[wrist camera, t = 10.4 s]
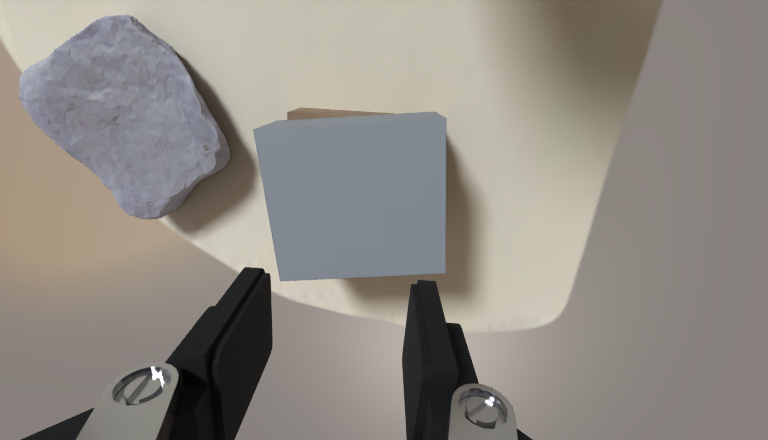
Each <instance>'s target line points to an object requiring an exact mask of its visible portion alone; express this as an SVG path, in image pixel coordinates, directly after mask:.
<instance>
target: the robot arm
mask: <svg viewBox="0 0 768 440" xmlns="http://www.w3.org/2000/svg"><path fill="white" fill-rule="evenodd" d="M271 350H272V311H271V278H270V274H269V273H265V271H264V269H263V268H250V267H245V268H244V269H243V270H242V271H241V273H240V274H239V275H238V277H237V278H236V279H235V281H234V282H233V283H232V285H231V286H230V287H229V289H228V290H227V291H226V292H225V294H224V295H223V297H222V298H221V299H220V300H219V302H218V303H217V304H216V306H211V307H209V308H208V309H207V310H206V311H205V312H204V313H203V315H202V316H201V318H200V319H199V320H198V321H197V322H196V324H195V325H194V326H193V328H192V329H191V330H190V331H189V333H188V334H187V335H186V337H185V338H184V339H183V340H182V342H181V343H180V344H179V345H178V347H177V348H176V349H175V351H174V352H173V353H172V354H171V356H170V357H169V358H168V360H167V361H166V362H165V363H160V362H153V363H148V364H142V365H139V366H137V367H134V368H131V369H129V370H127V371H126V372H124V373H122V374H120V375H119V376H118V377H117V378H115V379H114V380H113V381H112V382H111V383H110V384H109V386H108V387H107V388H106V390H105V391H104V393H103V395H102V396H101V398H100V400H99V401H98V403H97V405H96V406H95V408H92V409H90V410H88V411H85V412H83V413H81V414H79V415H76V416H74V417H72V418H69V419H67V420H65V421H63V422H60V423H58V424H56V425H53V426H51V427H49V428H47V429H44V430H42V431H40V432H37V433H35V434H33V435H30V436H28V437H26V438H24V439H21V440H234V439H235V437H236V435H237V432H238V430H239V428H240V425H241V423H242V420H243V418H244V416H245V413H246V411H247V408H248V406H249V404H250V401H251V399H252V397H253V394H254V392H255V390H256V387H257V385H258V382H259V380H260V378H261V375H262V373H263V371H264V368H265V366H266V363H267V361H268V359H269V356H270V354H271ZM402 366H403V383H404V399H405V416H406V433H407V440H532V439H531V438H529V437H528V436H527V435H525V434H524V433H522V432H521V431H520V430H518V429H517V428H516V420H515V414H514V411H513V407H512V406H511V404H510V403H509V401H508V400H507V399H506V398H505V397H504V396H503V395H502V394H501V393H499V392H498V391H496V390H494V389H493V388H491V387H488V386H485V385H482V384H479V383H478V379H477V376H476V373H475V370H474V367H473V363H472V360H471V357H470V353H469V350H468V347H467V344H466V341H465V338H464V334H463V331H462V328H461V325H460V324H456V323H446V321H445V317H444V313H443V309H442V305H441V301H440V297H439V293H438V289H437V285H436V282H435V281H425V280H418V282H417V284H411V289H410V297H409V305H408V313H407V321H406V329H405V338H404V345H403V355H402Z"/></svg>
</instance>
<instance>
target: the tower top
mask: <svg viewBox="0 0 768 440" xmlns="http://www.w3.org/2000/svg"><path fill="white" fill-rule="evenodd" d="M253 131H254V137H255V142H256V148H257V154H258V159H259V165H260V171H261V176H262V182H263V187H264V193H265V199H266V204H267V210H268V216H269V221H270V227H271V233H272V238H273V244H274V250H275V255H276V261H277V266H278V272H279V278H280V281H296V280H317V279H338V278H359V277H380V276H401V275H422V274H443V273H446V118H445V117H443V116H441V115H440V114H438V113H436V112H421V113H403V114H386V115H368V116H351V117H334V118H316V119H299V120H281V121H275V122H272V123H270V124H267V125H264V126H261V127H259V128H256V129H253Z"/></svg>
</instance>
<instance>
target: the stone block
mask: <svg viewBox="0 0 768 440" xmlns="http://www.w3.org/2000/svg"><path fill="white" fill-rule="evenodd" d="M19 85H20V90H21V92H20V93H19V96H18V97H19V99H20V100H21V104H22V106H23V107H24V108H25V110H26V111H27V112H28V114H29V115H30V117H31V118H32V121H33V122H34V123H35V124H36V125H37V126H38V127H39V128H40V129H41V130H42V131H43V132H44V133H45V134H46V135H48V136H49V137H50V138H51V139H52V140H53V141H54V142H55V143H56V144H57V145H59V146H60V147H61V148H62V149H63V150H65V151H66V152H67V153H68V154H70V155H71V156H72V157H74V158H75V159H77V160H78V161H79V162H81V163H83V164H84V165H85V166H86V167H88V168H89V169H90V170H91V171H93V172H94V173H95V174H96V175H97V176H98V177H99V178H100V180H101V181H102V182H103V184H104V185H105V186H106V187H107V188H109V189H110V190H111V191H112V193H113V195H114V197H115V199H116V201H117V203H118V205H119V206H120V208H121V209H122V210H124V211H125V212H126V213H127V214H129V215H132V216H135V217H138V218H141V219H158V218H161V217H163V216H165V215H167V214H169V213H170V212H172V211H173V210H175V209H177V208H178V207H179V206H180V205H181V204H182V203H183V202H184V200H185V198H186V197H187V196H188V195H189V194H190V193H191V192H192V190H193V189H194V188H195V186H196V185H197V183H198V182H199V181H200V180H202V179H204V178H206V177H208V176H210V175H213V174H214V173H216V172H218V171H220V170H221V169H223V168H224V167H225V166H226V165H227V164H228V162H229V159H230V150H229V147H228V145H227V141H226V138H225V135H223V133H222V132H221V130H220V128H219V126H218V125H217V123H216V121H215V120H214V118H213V117H212V115H211V113H210V112H209V110H208V108H207V105H206V103H205V102H204V100H203V98H202V97H201V95H200V94H199V92H198V91H197V89H196V87H195V85H194V82H193V79H192V78H191V76H190V75H189V73H188V72H187V70H186V67H185V66H184V65H183V63H182V61H181V60H180V59H179V58H178V56H177V54H176V52H175V51H174V50H173V48H172V47H171V46H169V45H168V44H167V43H165V42H164V41H162V40H161V39H159V38H158V37H156V36H155V35H153V34H152V33H151V32H150V31H149V30H148V29H147V28H146V27H145V26H144V25H143V24H141V23H140V22H138V20H137V19H136V18H134V17H133V16H129V15H119V16H106V17H104V18H101V19H97V20H96V21H94V22H93V23H91V24H90V25H88V26H87V27H86V28H85V29H84V30H83V31H81V32H79V33H78V34H76V35H75V36H73V37H71V38H70V39H68V40H67V41H66V42H64V43H63V44H62V45H61V46H59V47H58V48H57V49H55V50H54V51H53V53H52V54H51V55H50V56H49V57H47V58H45V59H43V60H41V61H40V62H38V63H36V64H34V65H32V66H30V67H29V68H27V69H26V70H25V71H24V72H23V74H22V76H21V77H20V79H19Z"/></svg>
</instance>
